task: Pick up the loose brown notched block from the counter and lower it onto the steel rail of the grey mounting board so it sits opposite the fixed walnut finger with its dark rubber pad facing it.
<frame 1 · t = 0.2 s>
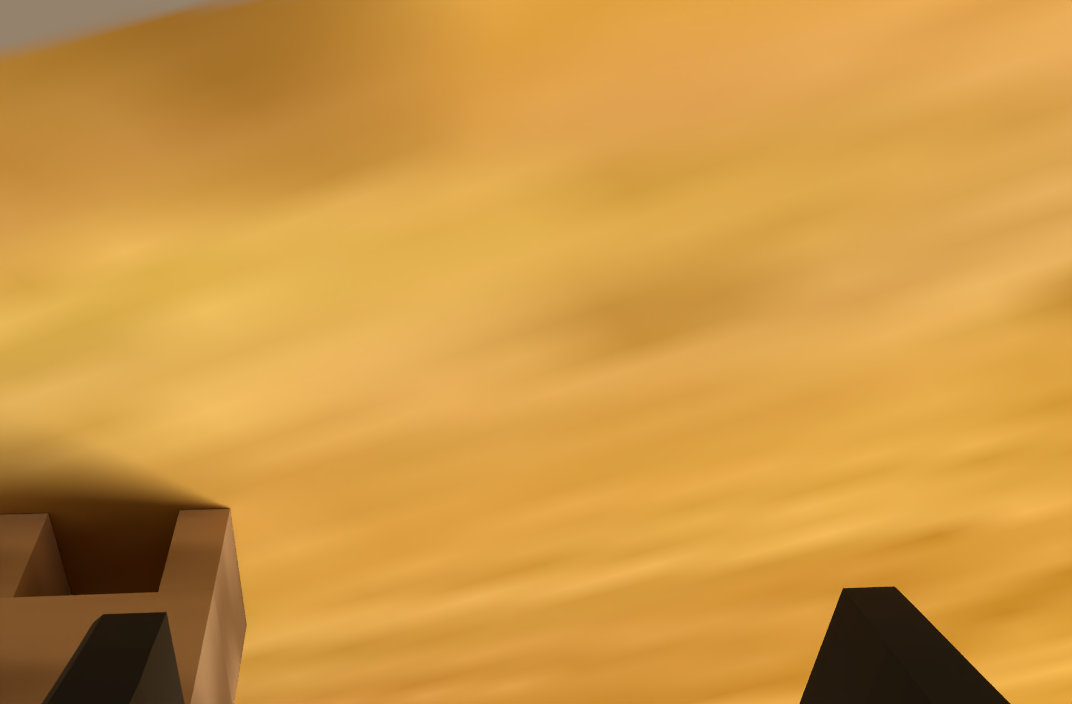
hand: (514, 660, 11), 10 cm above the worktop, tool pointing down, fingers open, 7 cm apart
brown notched block: (129, 573, 23), on the worktop
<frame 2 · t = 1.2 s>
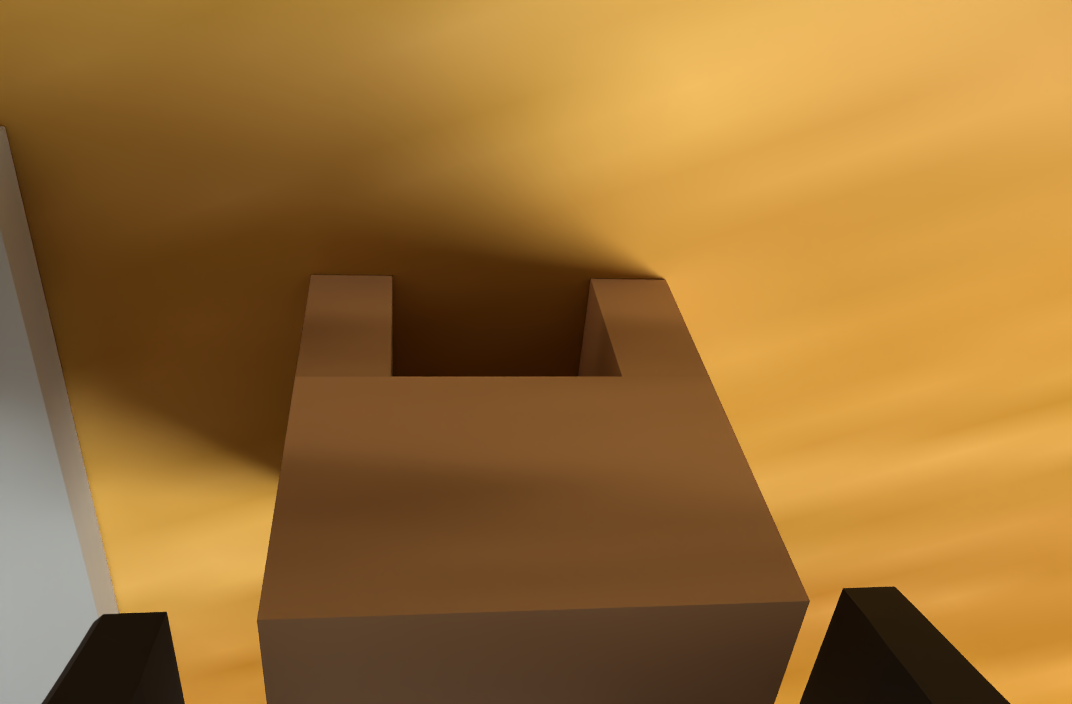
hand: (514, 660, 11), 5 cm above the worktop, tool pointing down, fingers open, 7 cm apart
brown notched block: (485, 391, 15), on the worktop
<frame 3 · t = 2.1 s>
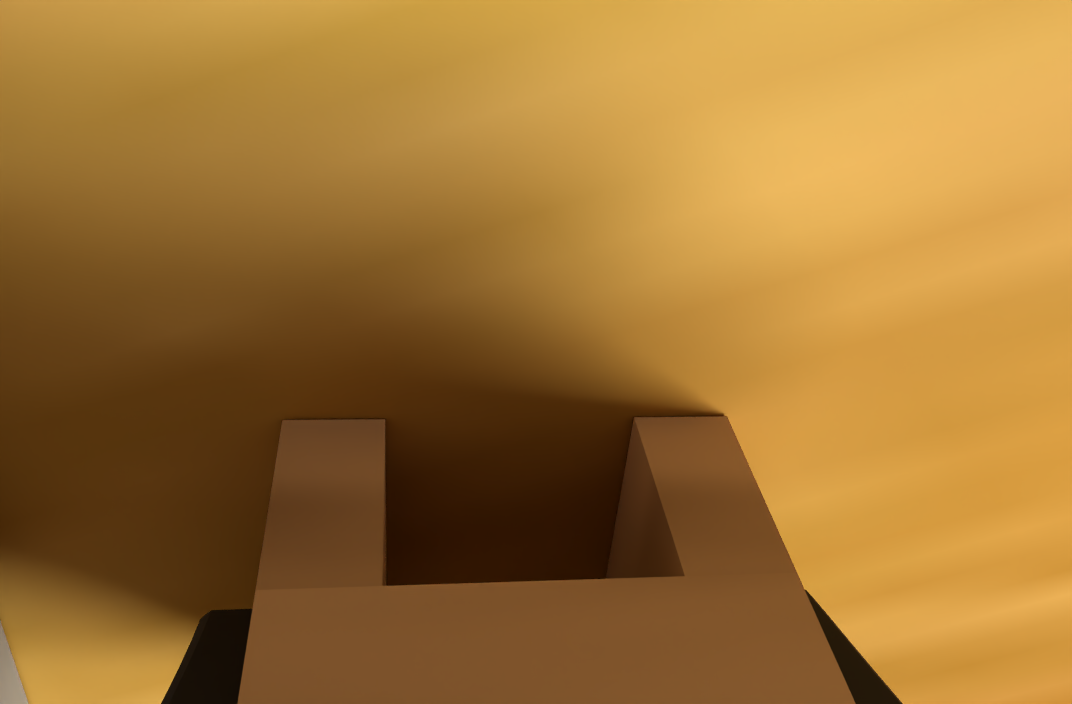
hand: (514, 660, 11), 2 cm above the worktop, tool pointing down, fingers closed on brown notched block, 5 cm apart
brown notched block: (500, 545, 12), on the worktop, touching gripper
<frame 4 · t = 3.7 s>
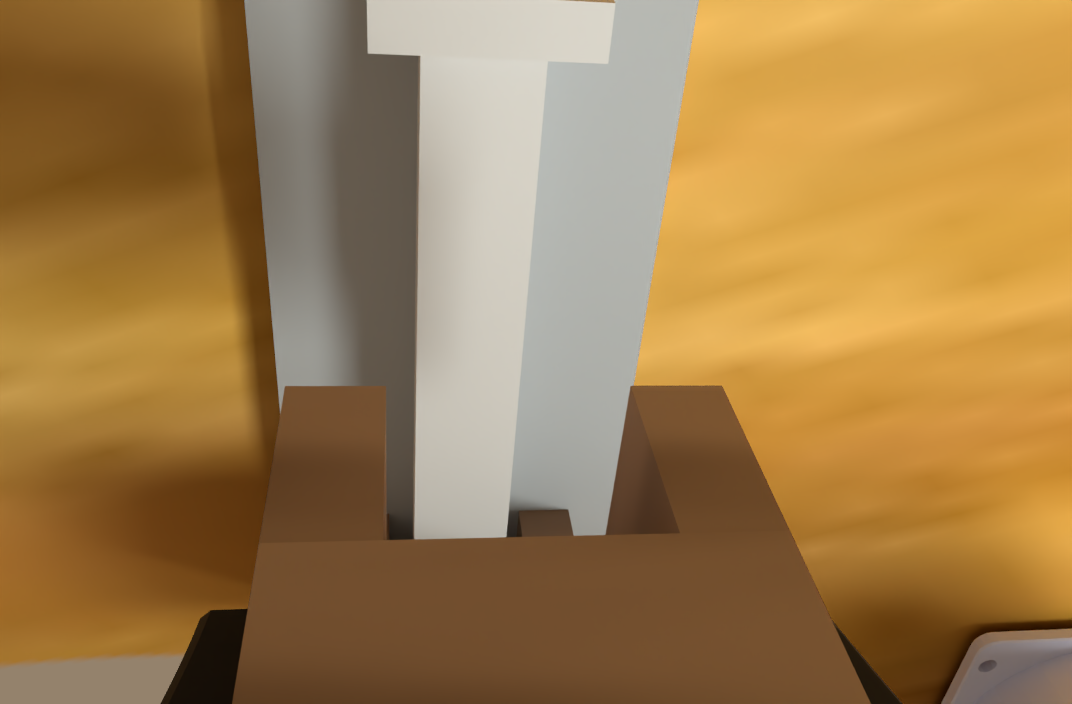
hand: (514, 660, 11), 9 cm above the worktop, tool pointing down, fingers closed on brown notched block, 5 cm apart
brown notched block: (499, 515, 12), point 7 cm above the worktop, touching gripper
rail: (458, 358, 20), on the worktop
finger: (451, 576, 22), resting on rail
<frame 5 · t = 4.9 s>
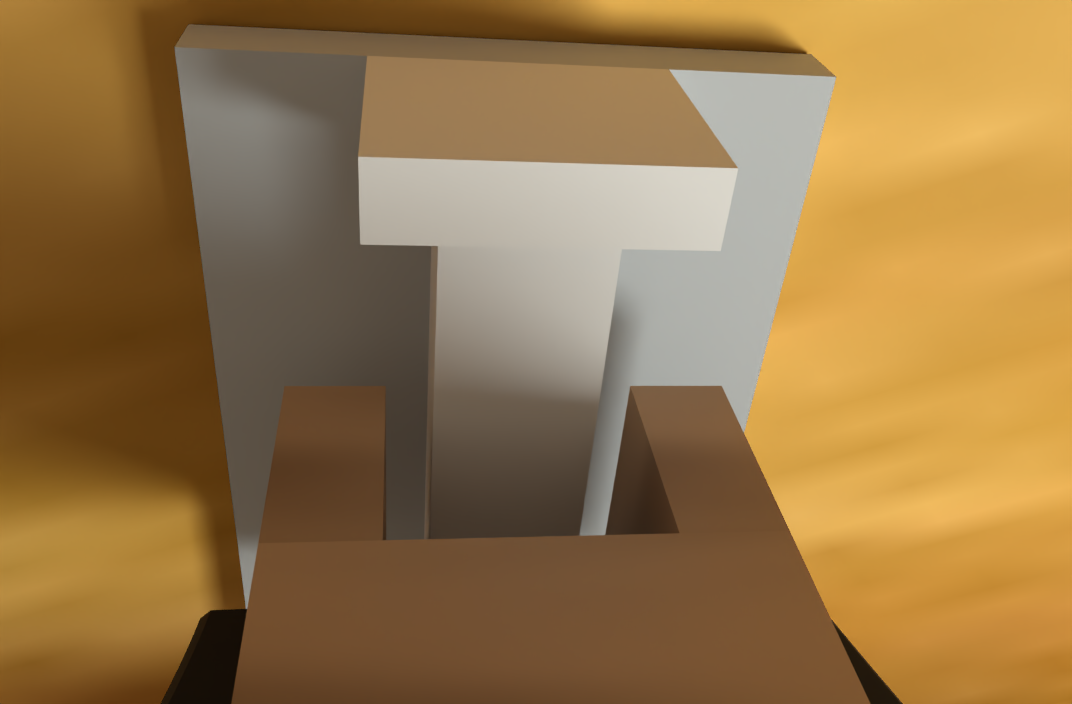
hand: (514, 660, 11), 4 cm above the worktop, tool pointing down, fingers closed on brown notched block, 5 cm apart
brown notched block: (499, 515, 12), point 2 cm above the worktop, touching gripper
rail: (479, 548, 15), on the worktop
when the fingers open (3 cm above the worktop, at t = 5.6 s): brown notched block stays where it is, resting on rail.
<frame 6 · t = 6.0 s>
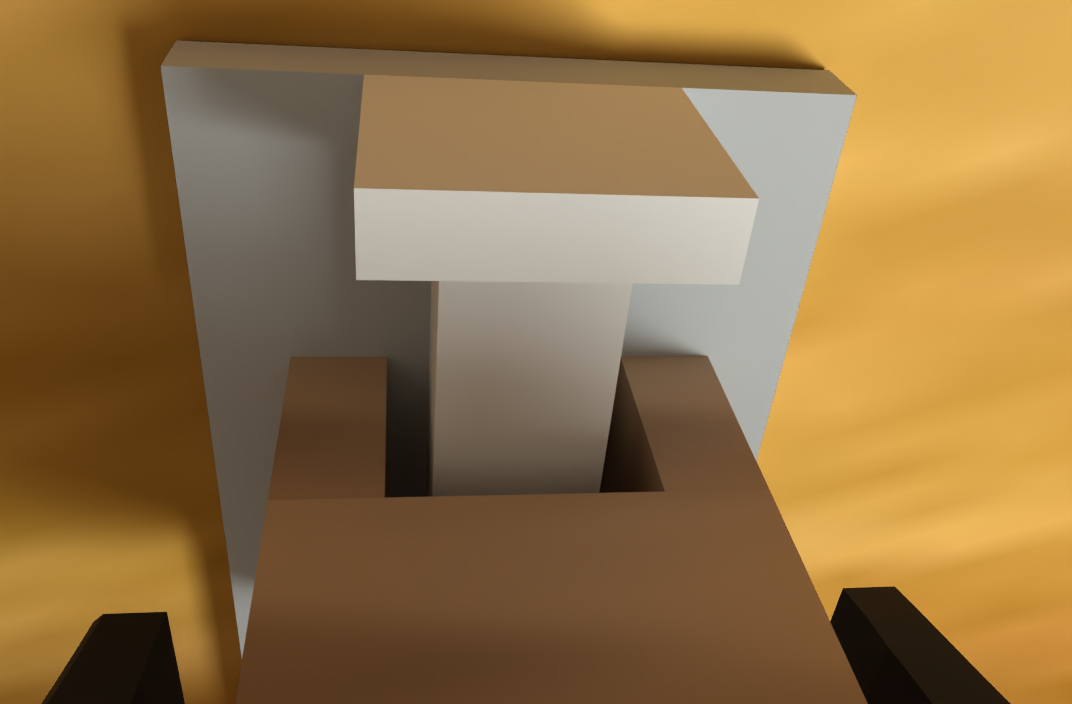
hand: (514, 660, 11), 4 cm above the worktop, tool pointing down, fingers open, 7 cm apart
brown notched block: (496, 482, 13), point 1 cm above the worktop, touching rail
rail: (481, 577, 15), on the worktop
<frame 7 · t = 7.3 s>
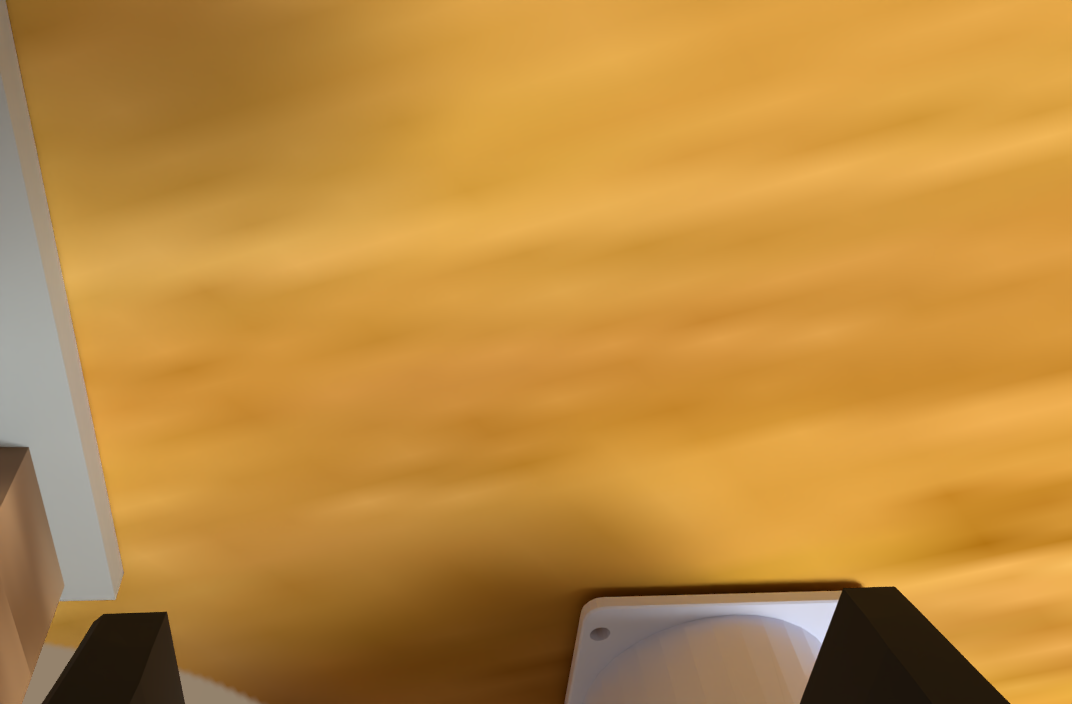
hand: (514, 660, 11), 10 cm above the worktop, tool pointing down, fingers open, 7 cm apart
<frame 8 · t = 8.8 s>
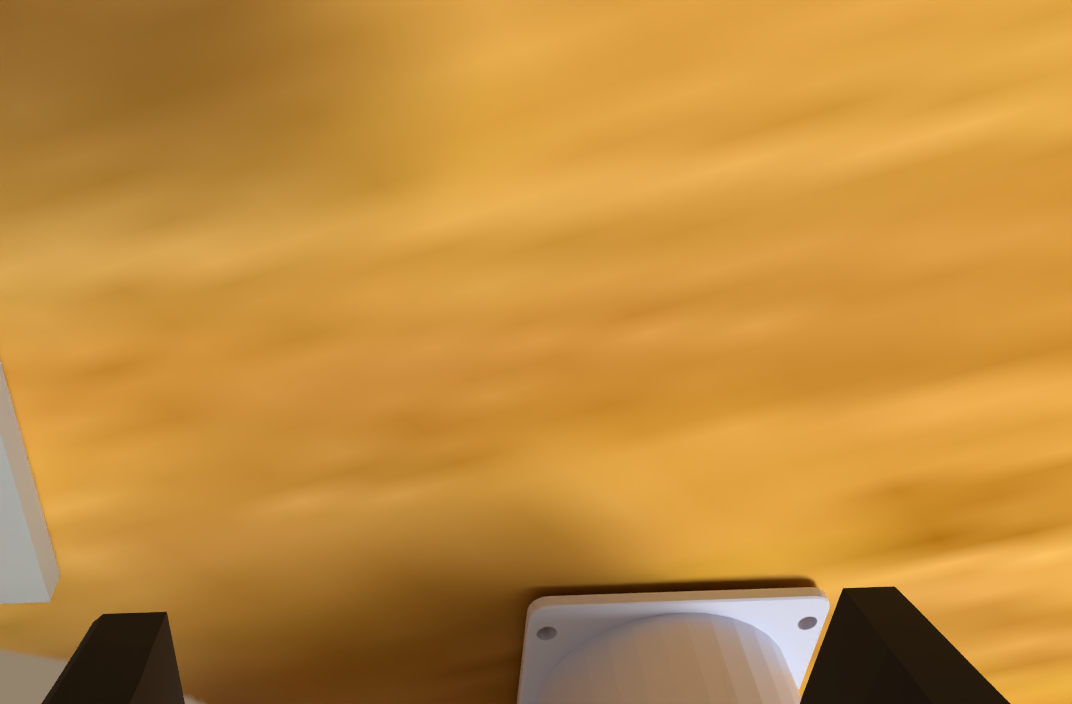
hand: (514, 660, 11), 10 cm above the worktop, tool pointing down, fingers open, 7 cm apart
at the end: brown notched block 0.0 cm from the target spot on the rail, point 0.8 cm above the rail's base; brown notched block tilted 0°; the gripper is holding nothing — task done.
